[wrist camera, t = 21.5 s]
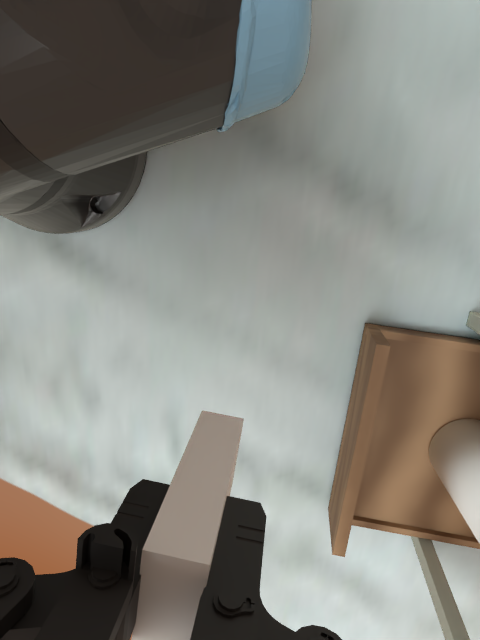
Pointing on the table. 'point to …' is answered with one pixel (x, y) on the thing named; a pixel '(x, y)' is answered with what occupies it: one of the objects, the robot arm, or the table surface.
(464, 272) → the table surface
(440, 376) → the tray
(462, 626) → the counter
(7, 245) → the table surface
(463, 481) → the beige rounded cylinder
